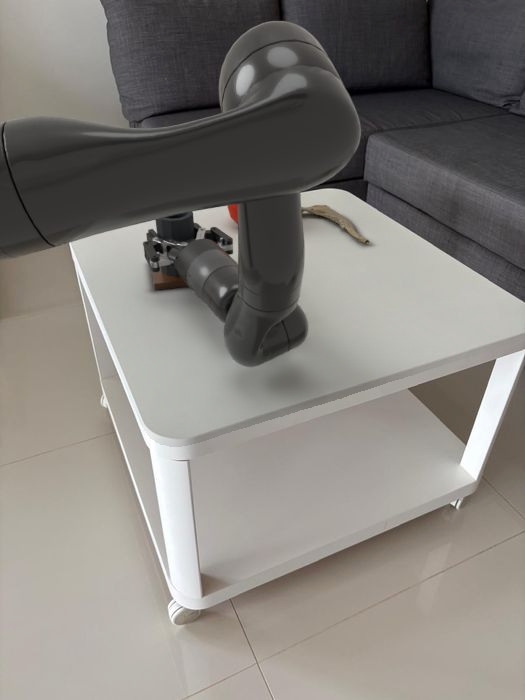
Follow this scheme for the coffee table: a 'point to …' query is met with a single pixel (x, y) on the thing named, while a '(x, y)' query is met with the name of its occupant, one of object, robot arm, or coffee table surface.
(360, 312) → the coffee table surface
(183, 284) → the stand
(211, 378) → the coffee table surface
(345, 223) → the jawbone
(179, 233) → the sleeve
